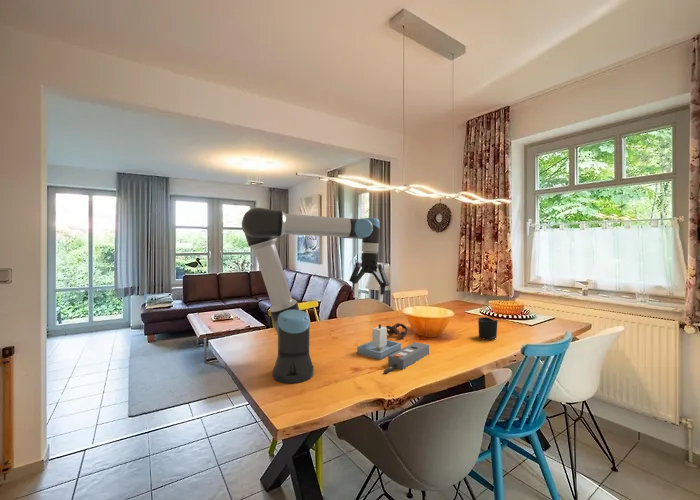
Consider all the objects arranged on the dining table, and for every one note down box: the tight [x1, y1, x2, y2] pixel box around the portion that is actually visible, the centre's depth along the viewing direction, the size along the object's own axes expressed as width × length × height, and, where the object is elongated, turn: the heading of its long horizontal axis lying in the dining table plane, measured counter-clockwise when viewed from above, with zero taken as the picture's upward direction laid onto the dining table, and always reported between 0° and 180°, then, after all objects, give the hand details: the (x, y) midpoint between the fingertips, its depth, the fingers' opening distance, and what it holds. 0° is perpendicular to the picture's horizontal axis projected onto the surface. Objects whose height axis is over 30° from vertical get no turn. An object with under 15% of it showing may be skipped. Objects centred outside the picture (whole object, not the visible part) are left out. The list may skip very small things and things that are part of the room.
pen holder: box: [477, 316, 498, 340], centre depth 170 cm, size 9×9×10 cm
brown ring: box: [385, 322, 408, 340], centre depth 169 cm, size 12×10×8 cm
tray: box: [356, 339, 402, 361], centre depth 146 cm, size 18×13×3 cm
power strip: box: [383, 341, 430, 375], centre depth 133 cm, size 32×7×5 cm, turn 142°
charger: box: [371, 323, 388, 351], centre depth 146 cm, size 6×4×12 cm, turn 142°
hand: (367, 299), depth 143 cm, fingers open, 13 cm apart
